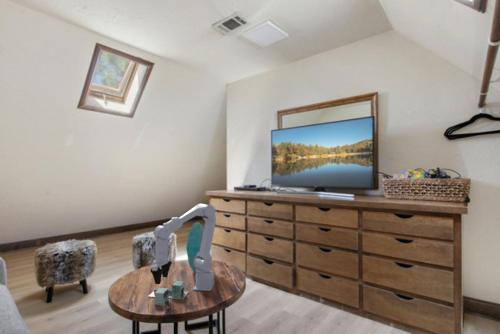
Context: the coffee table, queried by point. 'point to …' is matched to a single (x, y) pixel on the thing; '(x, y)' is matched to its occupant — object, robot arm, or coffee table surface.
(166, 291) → the block
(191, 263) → the crystal
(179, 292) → the rail
